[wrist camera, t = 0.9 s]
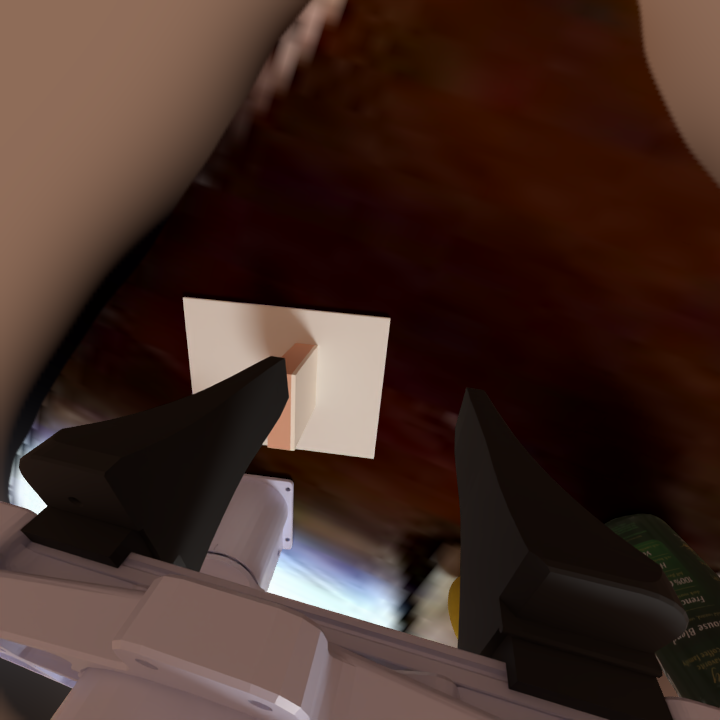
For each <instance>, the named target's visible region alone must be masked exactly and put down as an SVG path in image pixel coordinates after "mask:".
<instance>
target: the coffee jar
mask: <svg viewBox="0 0 720 720" xmlns="http://www.w3.org/2000/svg"><path fill="white" fill-rule="evenodd" d="M604 525H606V526H607V527H608V528H609V529H611V530H612V531H613V532H615V533H616V534H617V535H618V536H620V537H621V538H623V539H624V540H625V541H627V542H628V543H630V544H631V545H632V546H634V547H635V548H636V549H638V550H639V551H641V552H642V553H643V554H645V555H646V556H648V557H649V558H650V559H652V560H653V561H654V562H656V563H657V564H659V565H660V566H661V568H662V569H663V571H664V573H665V574H666V576H667V578H668V580H669V581H670V583H671V585H672V586H673V588H674V590H675V592H676V594H677V596H678V598H679V600H680V602H681V604H682V606H683V608H684V610H685V612H686V614H687V616H688V618H689V622H688V626H687V629H686V630H685V632H684V633H683V634H682V635H680V636H679V637H678V638H677V639H675V640H674V641H672V642H671V643H669V644H667V645H666V646H664V647H662V648H661V649H659V650H658V651H656V652H654V653H655V655H656V657H657V660H658V662H659V664H660V667H661V669H662V671H663V672H664V674H665V675H666V677H667V678H668V680H669V682H670V683H671V685H672V686H673V688H674V689H675V690H676V692H677V694H678V695H679V697H681V698H686V699H690V700H694V701H697V702H701V703H704V704H708V705H711V706H714V707H718V708H720V577H719V576H718V575H717V574H716V573H715V572H714V571H713V570H712V569H711V568H710V567H709V566H708V565H707V564H706V563H705V562H704V561H703V560H702V559H701V558H700V557H699V556H698V555H697V554H696V553H695V552H694V551H693V550H692V549H691V548H690V547H689V546H688V545H687V544H686V543H685V542H684V541H683V540H682V538H681V537H680V536H679V535H678V534H677V533H676V532H675V531H674V530H673V529H672V528H671V527H670V526H669V525H668V524H667V523H666V522H664V521H663V520H662V519H660V518H658V517H656V516H654V515H651V514H634V515H627V516H622V517H619V518H615V519H613V520H611V521H609V522H607V523H605V524H604Z"/></svg>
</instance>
